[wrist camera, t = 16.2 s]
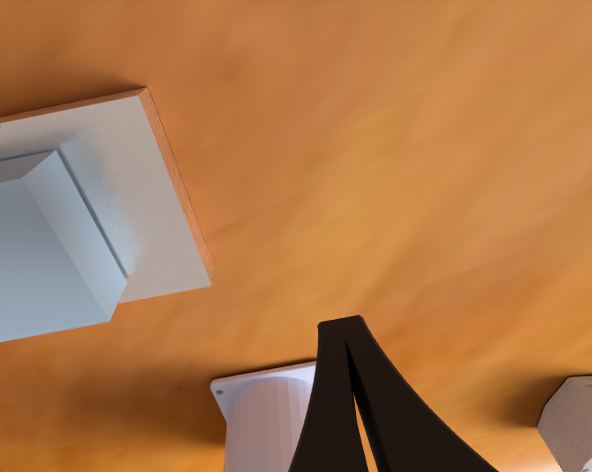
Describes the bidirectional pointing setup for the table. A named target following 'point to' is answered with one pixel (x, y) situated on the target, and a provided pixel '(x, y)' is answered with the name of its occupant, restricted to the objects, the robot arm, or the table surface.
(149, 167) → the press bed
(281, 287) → the table surface
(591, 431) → the padlock
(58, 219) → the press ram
